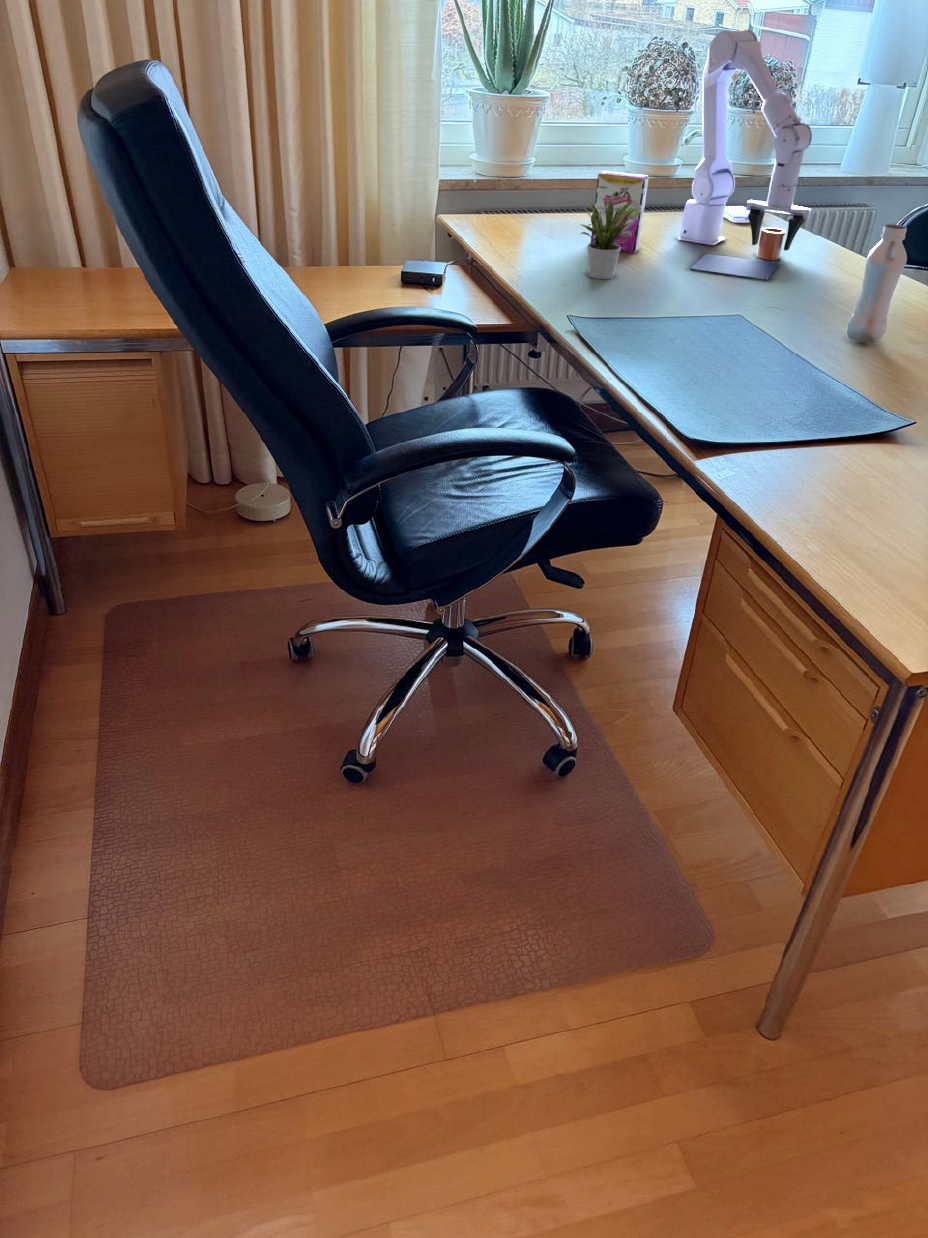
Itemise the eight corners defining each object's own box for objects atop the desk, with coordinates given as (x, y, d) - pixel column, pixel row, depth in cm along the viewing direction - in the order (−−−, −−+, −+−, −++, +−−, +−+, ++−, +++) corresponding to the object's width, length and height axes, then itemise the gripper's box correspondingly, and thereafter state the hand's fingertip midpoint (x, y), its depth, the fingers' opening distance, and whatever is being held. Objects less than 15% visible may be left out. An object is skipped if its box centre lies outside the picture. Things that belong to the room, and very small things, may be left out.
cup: (753, 257, 216) (758, 230, 212) (760, 252, 220) (766, 226, 216) (775, 261, 214) (781, 233, 210) (782, 256, 217) (788, 229, 214)
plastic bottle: (838, 335, 171) (868, 221, 160) (872, 335, 172) (905, 222, 160) (852, 347, 166) (885, 230, 154) (888, 347, 167) (923, 231, 155)
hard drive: (716, 206, 253) (733, 216, 244) (744, 205, 255) (762, 216, 245) (715, 212, 254) (732, 222, 244) (743, 211, 255) (761, 222, 246)
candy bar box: (589, 248, 219) (596, 173, 209) (593, 243, 222) (601, 169, 213) (635, 253, 216) (645, 178, 206) (639, 248, 220) (649, 174, 210)
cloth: (690, 269, 206) (690, 268, 206) (706, 254, 217) (706, 253, 217) (766, 280, 200) (766, 279, 200) (778, 264, 211) (779, 263, 211)
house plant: (647, 272, 203) (658, 193, 193) (629, 288, 193) (640, 205, 183) (586, 263, 208) (594, 185, 198) (565, 278, 197) (573, 197, 188)
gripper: (746, 182, 208) (734, 245, 216) (810, 190, 201) (795, 255, 209) (756, 177, 213) (745, 239, 221) (819, 186, 206) (804, 249, 214)
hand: (770, 246), depth 215 cm, fingers open, 7 cm apart
